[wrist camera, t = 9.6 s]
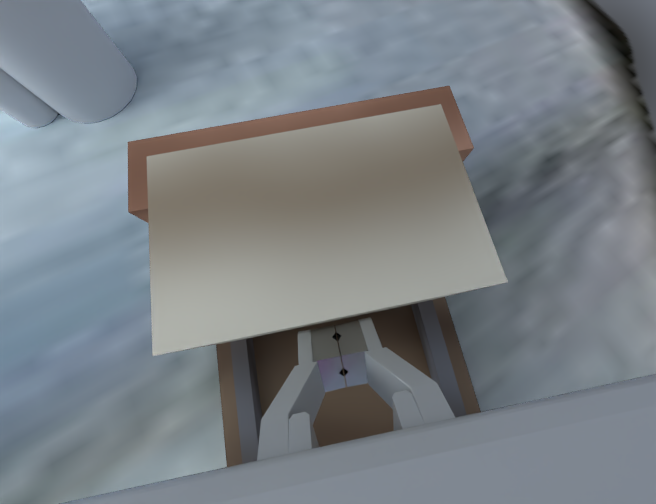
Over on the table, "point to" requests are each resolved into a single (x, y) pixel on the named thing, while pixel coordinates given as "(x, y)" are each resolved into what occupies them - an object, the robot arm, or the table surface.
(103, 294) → the table surface
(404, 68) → the table surface
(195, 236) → the cream rectangular block
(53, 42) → the vase
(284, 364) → the track
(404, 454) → the robot arm
